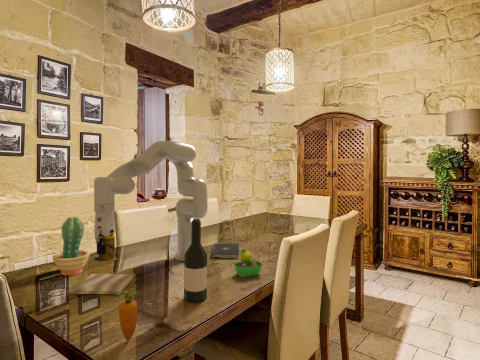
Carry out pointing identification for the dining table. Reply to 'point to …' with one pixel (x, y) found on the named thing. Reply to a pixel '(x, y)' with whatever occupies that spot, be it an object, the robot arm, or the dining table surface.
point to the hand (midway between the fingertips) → (104, 251)
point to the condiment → (107, 249)
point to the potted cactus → (71, 248)
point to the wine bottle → (195, 267)
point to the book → (225, 250)
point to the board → (103, 284)
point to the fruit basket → (247, 265)
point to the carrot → (128, 315)
